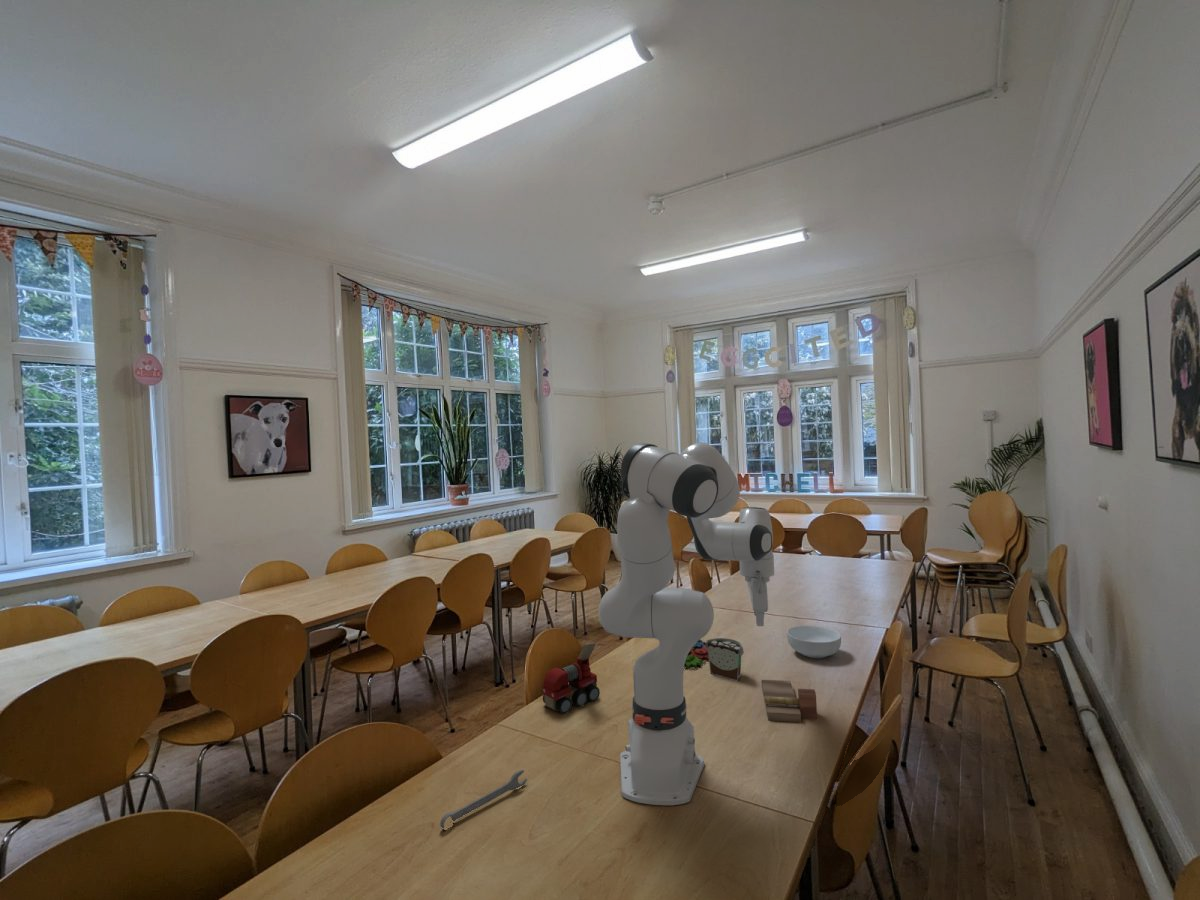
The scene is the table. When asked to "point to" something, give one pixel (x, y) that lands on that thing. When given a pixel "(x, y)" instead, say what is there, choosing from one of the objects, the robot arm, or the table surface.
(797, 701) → the toy wooden hammer
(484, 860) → the table surface
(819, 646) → the cereal bowl
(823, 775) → the table surface
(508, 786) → the combination wrench
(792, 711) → the walnut board
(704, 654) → the gear puzzle
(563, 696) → the toy fire truck
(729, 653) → the food container
